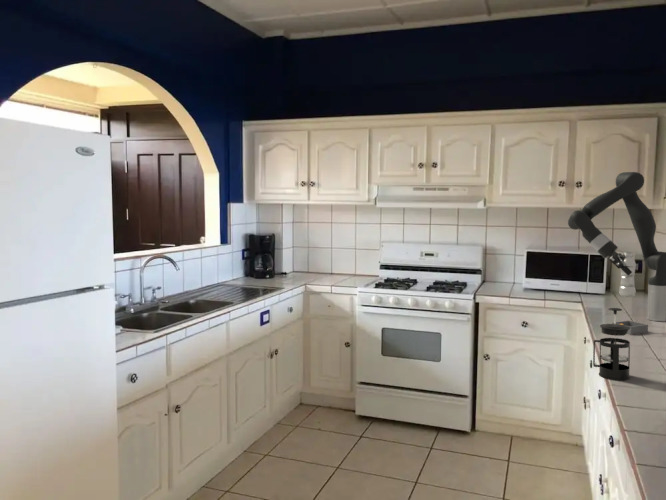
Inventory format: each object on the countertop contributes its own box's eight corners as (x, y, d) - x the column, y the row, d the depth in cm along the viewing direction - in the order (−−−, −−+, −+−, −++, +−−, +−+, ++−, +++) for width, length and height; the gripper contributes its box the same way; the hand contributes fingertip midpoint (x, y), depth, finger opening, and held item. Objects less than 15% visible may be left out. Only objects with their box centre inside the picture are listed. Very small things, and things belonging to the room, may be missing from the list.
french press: (630, 373, 191) (631, 306, 189) (634, 381, 182) (635, 311, 180) (592, 370, 195) (593, 305, 193) (594, 378, 186) (594, 309, 184)
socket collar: (628, 328, 258) (628, 319, 257) (647, 332, 248) (648, 323, 248) (612, 330, 254) (612, 321, 254) (630, 334, 245) (630, 325, 244)
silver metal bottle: (627, 298, 247) (628, 253, 246) (615, 296, 254) (616, 251, 252) (639, 297, 249) (640, 252, 247) (627, 295, 255) (628, 251, 254)
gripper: (606, 241, 248) (635, 269, 242) (614, 239, 260) (642, 265, 253) (593, 252, 252) (621, 280, 246) (601, 250, 263) (628, 276, 257)
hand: (631, 273), depth 249 cm, fingers closed on silver metal bottle, 6 cm apart
